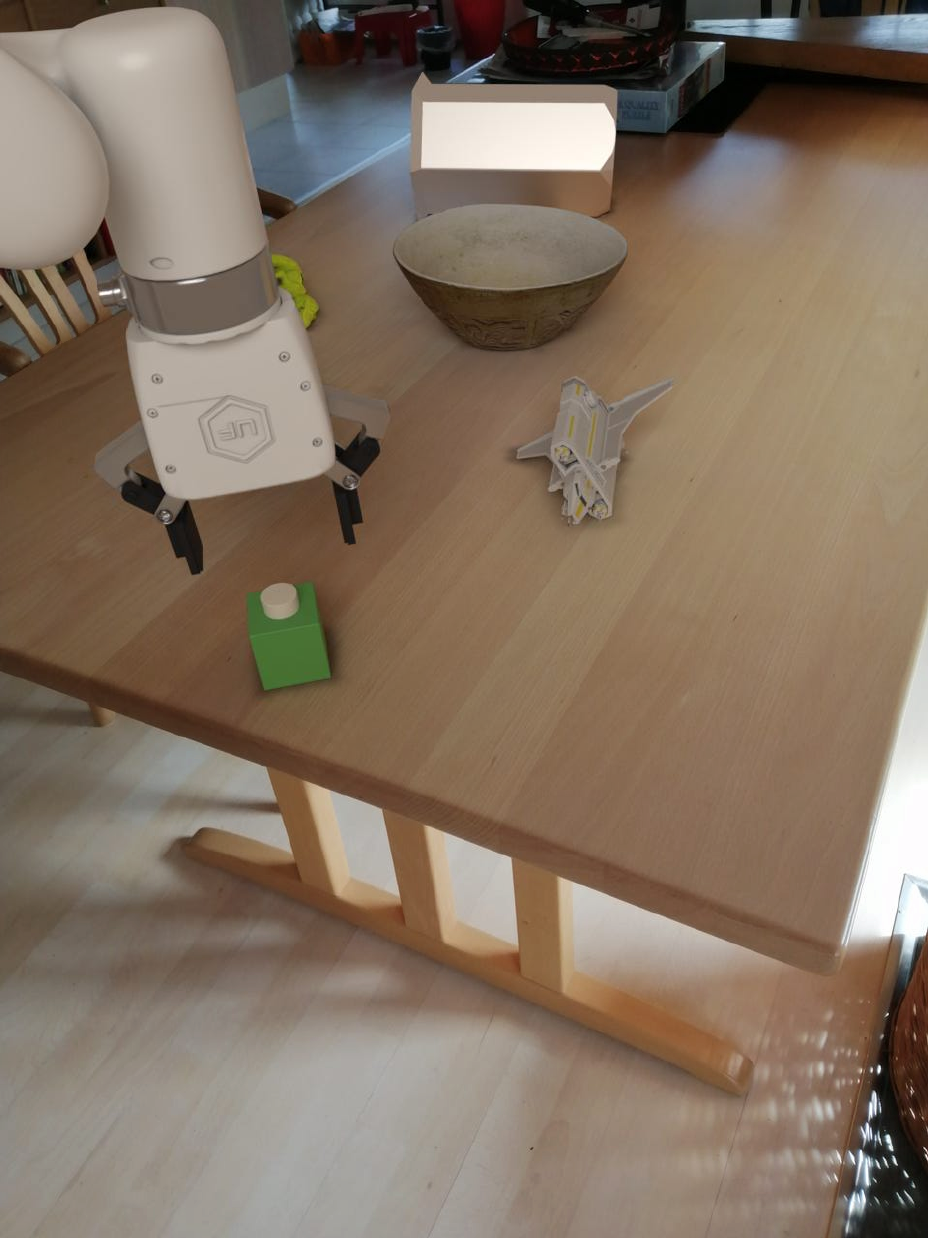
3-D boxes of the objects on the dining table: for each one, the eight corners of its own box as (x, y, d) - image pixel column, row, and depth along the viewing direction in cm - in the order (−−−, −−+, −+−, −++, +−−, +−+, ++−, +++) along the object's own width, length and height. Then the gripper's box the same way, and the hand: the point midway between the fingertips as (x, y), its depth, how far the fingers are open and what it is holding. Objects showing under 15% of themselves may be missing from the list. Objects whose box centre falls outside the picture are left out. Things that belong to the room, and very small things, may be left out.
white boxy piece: (422, 249, 137) (404, 143, 119) (433, 154, 142) (418, 39, 125) (606, 252, 135) (616, 145, 117) (610, 156, 140) (620, 39, 122)
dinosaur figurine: (190, 290, 122) (177, 239, 118) (265, 267, 126) (255, 216, 122) (264, 344, 109) (252, 289, 105) (345, 316, 113) (337, 262, 109)
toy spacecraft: (542, 479, 91) (695, 411, 84) (519, 588, 80) (693, 521, 73) (495, 411, 87) (651, 333, 80) (464, 515, 76) (642, 436, 69)
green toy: (264, 691, 68) (244, 622, 64) (260, 647, 71) (242, 579, 67) (331, 678, 68) (316, 609, 64) (324, 635, 72) (310, 567, 68)
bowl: (639, 288, 113) (643, 196, 106) (606, 389, 96) (608, 288, 89) (439, 280, 119) (431, 193, 112) (374, 375, 102) (361, 278, 95)
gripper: (26, 346, 49) (133, 610, 60) (376, 287, 50) (416, 555, 62) (43, 286, 54) (139, 538, 66) (358, 234, 56) (398, 489, 67)
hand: (273, 546), depth 64 cm, fingers open, 9 cm apart
